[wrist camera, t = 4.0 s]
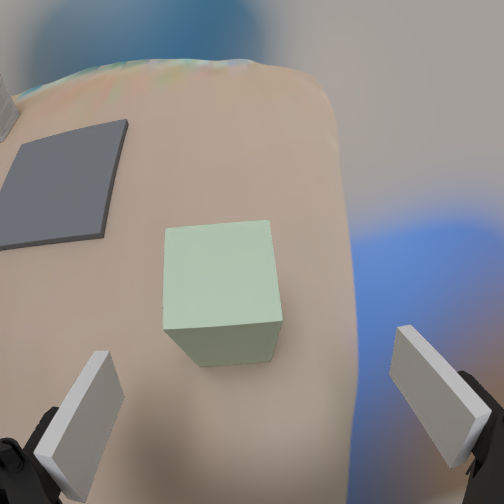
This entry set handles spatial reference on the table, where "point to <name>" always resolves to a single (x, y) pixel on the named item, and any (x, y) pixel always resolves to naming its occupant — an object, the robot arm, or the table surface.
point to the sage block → (222, 292)
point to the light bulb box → (6, 111)
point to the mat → (61, 187)
